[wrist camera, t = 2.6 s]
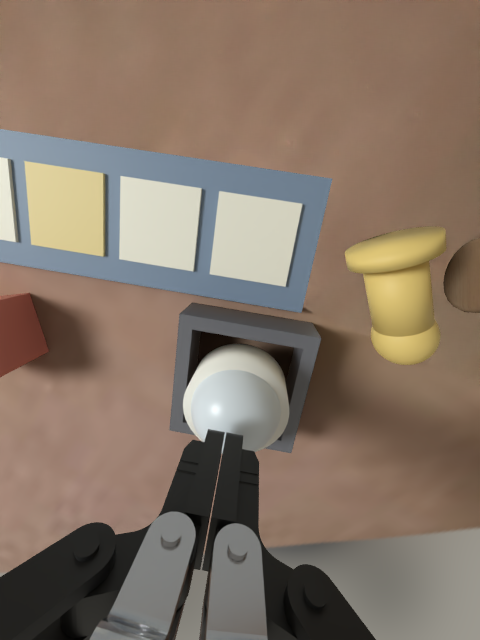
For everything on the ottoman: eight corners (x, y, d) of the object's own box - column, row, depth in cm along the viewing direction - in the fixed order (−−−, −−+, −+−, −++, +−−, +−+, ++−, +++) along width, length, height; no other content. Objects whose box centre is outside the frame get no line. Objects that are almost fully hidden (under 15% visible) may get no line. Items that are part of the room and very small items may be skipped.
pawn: (330, 253, 16) (353, 355, 18) (375, 262, 11) (397, 393, 14) (401, 226, 16) (414, 332, 18) (472, 226, 11) (476, 364, 14)
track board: (328, 181, 15) (333, 178, 14) (299, 309, 17) (301, 313, 16) (-75, 121, 16) (-97, 113, 15) (-53, 250, 18) (-70, 250, 17)
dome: (293, 350, 16) (306, 395, 11) (275, 428, 17) (280, 495, 13) (200, 333, 16) (175, 372, 11) (191, 412, 18) (166, 473, 13)
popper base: (312, 322, 17) (321, 338, 15) (287, 424, 20) (291, 453, 17) (192, 302, 18) (179, 313, 15) (182, 404, 20) (169, 430, 17)
